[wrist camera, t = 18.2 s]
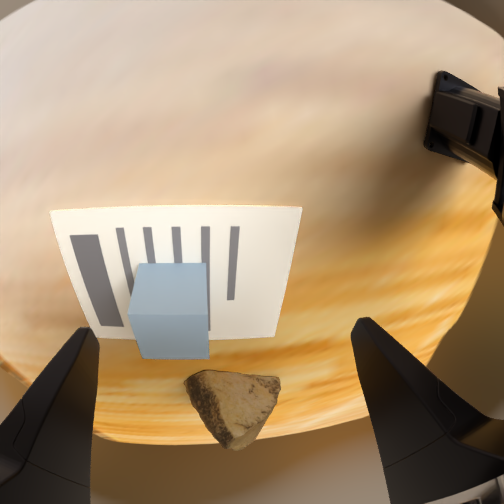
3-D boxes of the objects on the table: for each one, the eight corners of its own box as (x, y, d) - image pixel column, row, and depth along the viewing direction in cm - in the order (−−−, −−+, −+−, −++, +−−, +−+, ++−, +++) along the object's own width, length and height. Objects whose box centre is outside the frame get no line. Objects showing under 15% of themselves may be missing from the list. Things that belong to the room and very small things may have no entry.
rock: (307, 384, 31) (254, 372, 25) (288, 448, 28) (229, 453, 22) (243, 368, 38) (187, 352, 32) (227, 422, 35) (168, 416, 29)
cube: (206, 262, 21) (207, 314, 17) (207, 309, 24) (209, 358, 20) (139, 263, 20) (127, 314, 16) (148, 309, 23) (142, 358, 19)
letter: (301, 206, 20) (302, 208, 19) (273, 335, 28) (274, 337, 27) (50, 210, 17) (49, 212, 16) (95, 335, 25) (95, 337, 24)
